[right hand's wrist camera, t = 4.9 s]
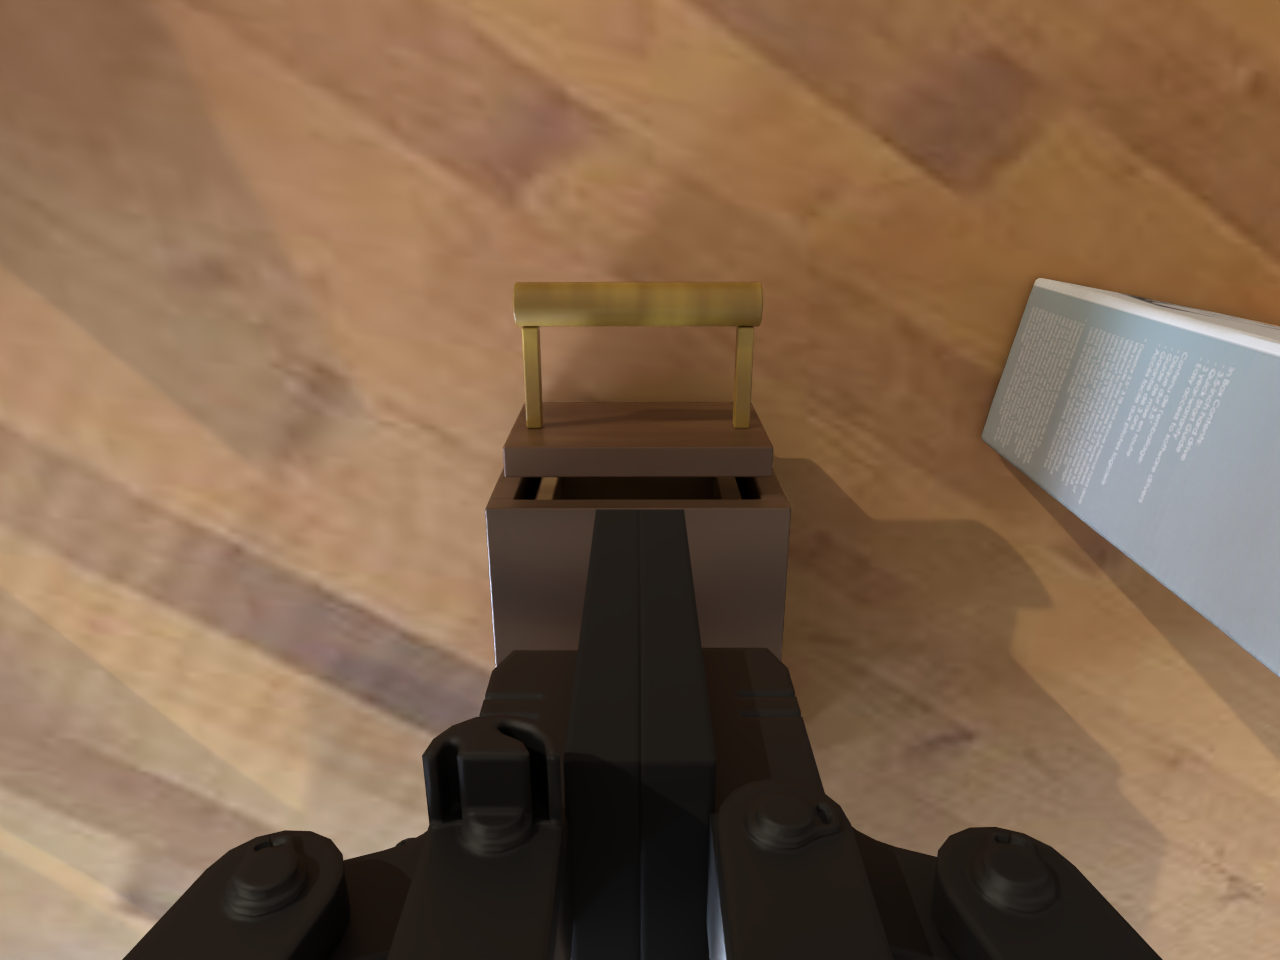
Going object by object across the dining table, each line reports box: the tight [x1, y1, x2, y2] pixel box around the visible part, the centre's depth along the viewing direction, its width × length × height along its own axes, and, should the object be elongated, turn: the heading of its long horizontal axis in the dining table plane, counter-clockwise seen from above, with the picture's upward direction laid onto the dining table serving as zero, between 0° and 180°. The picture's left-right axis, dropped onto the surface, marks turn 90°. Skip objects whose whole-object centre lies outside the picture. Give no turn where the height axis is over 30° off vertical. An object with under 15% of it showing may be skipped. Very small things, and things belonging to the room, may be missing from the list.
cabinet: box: [485, 468, 791, 667], centre depth 37 cm, size 18×11×8 cm, turn 0°
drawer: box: [503, 282, 773, 500], centre depth 36 cm, size 23×10×6 cm, turn 0°
